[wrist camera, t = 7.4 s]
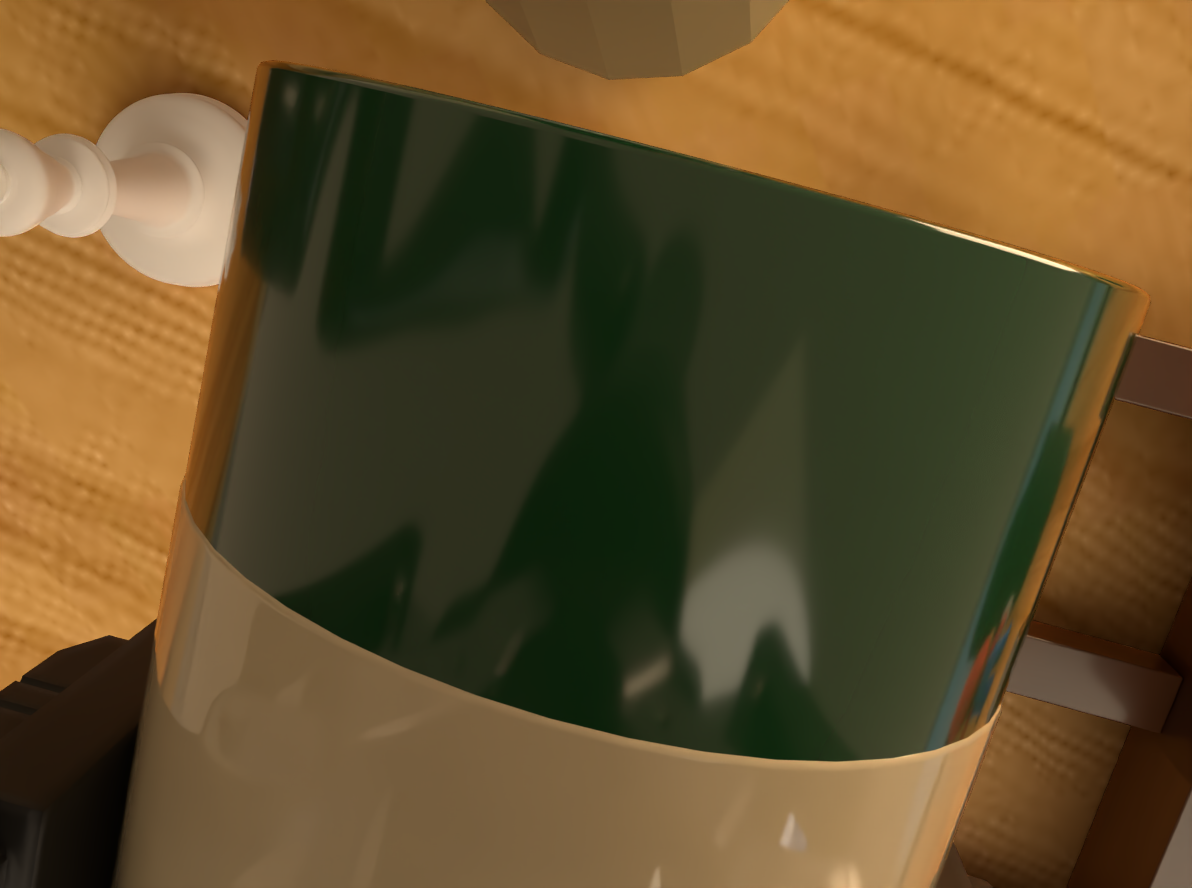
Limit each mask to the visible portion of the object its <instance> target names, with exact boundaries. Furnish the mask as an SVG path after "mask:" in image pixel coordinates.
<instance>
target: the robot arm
mask: <svg viewBox="0 0 1192 888" xmlns="http://www.w3.org/2000/svg"><path fill="white" fill-rule="evenodd" d="M156 622H157V619H156V620H154V621H153V622H152V623H151V624H149V625H148V626H147V627H145V628H144V629H143V630H141V631H140V632H139V633H137V634H136V635H135V636H134V637H132V638H131V639H130V640H125V639H121V638H117V637H114V636H110V635H109V636H105V637H102V638H99V639H95V640H92V641H89V642H86V643H82V644H79V645H76V646H72V647H69V648H66V649H63V650H59V651H57V652H56V653H55V654H53V655H52V656H50V657H49V658H47V659H46V660H45V661H43V662H42V663H40V664H39V665H37V666H36V667H35V668H33V669H32V670H30V671H29V672H27V673H26V674H24V675H23V676H22V679H21V681H20V682H18V681H14V682H13V683H12V684H10V685H9V686H7V687H6V688H4V689H3V690H2V691H0V888H110V885H111V879H112V874H113V868H114V862H115V856H116V851H117V845H118V839H119V834H120V828H121V822H122V816H123V811H124V805H125V799H126V793H127V788H128V782H129V776H130V771H131V765H132V759H133V753H134V748H135V742H136V736H137V731H138V725H139V719H140V713H141V708H142V702H143V696H144V691H145V685H146V679H147V673H148V668H149V662H150V656H151V651H152V645H153V639H154V633H155V628H156ZM936 888H993V887H992V886H991V885H990V883H989V882H988V881H986V880H983V879H979V878H976V877H972V876H969V875H967V873H966V871H965V868H964V866H963V863H962V861H961V859H960V856H959V854H958V852H957V849H956V847H955V845H954V842H953V843H952V846H951V849H950V851H949V854H948V857H947V859H946V862H945V865H944V867H943V870H942V873H941V875H940V878H939V881H938V884H937V886H936Z"/></svg>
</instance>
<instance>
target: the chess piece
mask: <svg viewBox="0 0 1192 888" xmlns="http://www.w3.org/2000/svg"><path fill="white" fill-rule="evenodd" d="M247 122H248V121H247V120H246V119H245V118H244V117H243V116H242V115H241V114H239V113H238V112H237V111H235V110H234V109H232V108H231V107H229V106H228V105H226V104H224V103H222V102H220V101H218V100H215V99H213V98H210V97H207V96H203V95H198V94H192V93H172V94H161V95H155V96H151V97H147V98H144V99H142V100H139V101H137V102H135V103H133V104H131V105H130V106H128V107H126V108H125V109H124V110H122V111H121V112H120V113H119V114H117V115H116V116H115V117H114V118H113V119H112V120H111V122H110V123H109V124H108V125H107V127H106V128H105V129H104V131H103V132H102V134H101V136H100V138H99V139H98V142H97V144H96V145H95V144H93V143H92V142H90V141H89V140H87V139H85V138H83V137H80V136H77V135H73V134H55V135H51V136H48V137H46V138H44V139H42V140H40V141H38V142H36V143H35V144H33V143H32V142H30V141H29V140H27V139H26V138H24V137H22V136H20V135H19V134H16V133H14V132H12V131H9V130H5V129H1V128H0V236H4V237H5V236H14V235H18V234H22V233H24V232H26V231H29V230H30V229H32V228H34V227H35V226H37V225H40V226H42V227H43V228H45V229H47V230H49V231H51V232H53V233H55V234H57V235H60V236H64V237H72V238H76V237H83V236H87V235H90V234H92V233H94V232H96V231H98V230H99V229H100V230H101V232H102V234H103V235H104V237H105V239H106V240H107V242H108V243H109V245H110V246H111V247H112V248H113V250H114V251H115V252H116V253H117V254H118V255H119V256H120V257H121V258H122V259H123V260H124V261H125V262H126V263H128V264H129V265H130V266H131V267H133V268H134V269H136V270H137V271H139V272H140V273H142V274H144V275H146V276H148V277H150V278H153V279H155V280H158V281H161V282H165V283H169V284H174V285H180V286H187V287H206V286H212V285H217V284H219V281H220V275H221V270H222V264H223V258H224V253H225V247H226V241H227V236H228V230H229V224H230V219H231V213H232V207H233V201H234V196H235V190H236V184H237V179H238V173H239V167H240V162H241V156H242V150H243V144H244V139H245V133H246V127H247Z"/></svg>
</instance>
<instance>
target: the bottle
mask: <svg viewBox="0 0 1192 888" xmlns="http://www.w3.org/2000/svg"><path fill="white" fill-rule="evenodd" d="M1150 303H1151V300H1150V295H1149V294H1148V293H1146V292H1145V291H1144V290H1142V289H1141V288H1140V287H1137V286H1135V285H1133V284H1130V283H1128V282H1126V281H1123V280H1120V279H1117V278H1115V277H1112V276H1109V275H1106V274H1103V273H1100V272H1098V271H1095V270H1091V269H1088V268H1085V267H1082V266H1079V265H1076V264H1073V263H1070V262H1067V261H1063V260H1060V259H1057V258H1054V257H1051V256H1047V255H1044V254H1041V253H1037V252H1034V251H1031V250H1028V249H1024V248H1021V247H1018V246H1014V245H1011V244H1008V243H1004V242H1001V241H998V240H994V239H991V238H987V237H984V236H980V235H977V234H974V233H970V232H967V231H963V230H960V229H956V228H953V227H949V226H946V225H943V224H939V223H935V222H932V221H928V220H925V219H921V218H918V217H914V216H911V215H907V214H903V213H900V212H896V211H893V210H889V209H886V208H882V207H879V206H875V205H871V204H868V203H864V202H861V201H857V200H853V199H850V198H846V197H842V196H839V195H835V194H831V193H828V192H824V191H820V190H817V189H813V188H809V187H806V186H802V185H798V184H795V183H791V182H787V181H784V180H780V179H776V178H772V177H768V176H765V175H761V174H757V173H753V172H750V171H746V170H742V169H738V168H735V167H731V166H727V165H723V164H719V163H716V162H712V161H708V160H704V159H701V158H697V157H693V156H689V155H685V154H681V153H677V152H674V151H670V150H666V149H662V148H658V147H654V146H650V145H646V144H643V143H639V142H635V141H631V140H627V139H623V138H619V137H615V136H611V135H607V134H603V133H599V132H595V131H592V130H588V129H584V128H580V127H576V126H572V125H568V124H564V123H560V122H556V121H552V120H548V119H544V118H540V117H536V116H532V115H527V114H523V113H519V112H515V111H511V110H507V109H503V108H499V107H494V106H490V105H486V104H482V103H478V102H474V101H470V100H466V99H461V98H457V97H453V96H448V95H444V94H440V93H436V92H431V91H427V90H423V89H418V88H414V87H410V86H406V85H401V84H397V83H392V82H388V81H383V80H378V79H374V78H369V77H365V76H360V75H356V74H351V73H346V72H341V71H336V70H331V69H326V68H321V67H316V66H311V65H305V64H299V63H293V62H287V61H278V60H270V61H263V62H261V63H260V64H259V66H258V67H257V70H256V76H255V82H254V88H253V93H252V99H251V105H250V110H249V116H248V122H247V127H246V133H245V139H244V144H243V150H242V156H241V162H240V167H239V173H238V179H237V184H236V190H235V196H234V201H233V207H232V213H231V219H230V224H229V230H228V236H227V241H226V247H225V253H224V258H223V264H222V270H221V275H220V281H219V287H218V293H217V298H216V304H215V310H214V315H213V321H212V327H211V332H210V338H209V344H208V349H207V355H206V361H205V367H204V372H203V378H202V384H201V389H200V395H199V401H198V406H197V412H196V418H195V424H194V429H193V435H192V441H191V446H190V452H189V458H188V463H187V469H186V473H185V476H184V478H183V480H182V483H181V485H180V490H179V496H178V502H177V508H176V513H175V519H174V525H173V530H172V536H171V542H170V548H169V553H168V559H167V565H166V570H165V576H164V582H163V588H162V593H161V599H160V605H159V610H158V616H157V622H156V628H155V633H154V639H153V645H152V651H151V656H150V662H149V668H148V673H147V679H146V685H145V691H144V696H143V702H142V708H141V713H140V719H139V725H138V731H137V736H136V742H135V748H134V753H133V759H132V765H131V771H130V776H129V782H128V788H127V793H126V799H125V805H124V811H123V816H122V822H121V828H120V834H119V839H118V845H117V851H116V856H115V862H114V868H113V874H112V879H111V885H110V888H936V886H937V884H938V881H939V878H940V875H941V873H942V870H943V867H944V865H945V862H946V859H947V857H948V854H949V851H950V849H951V846H952V843H953V841H954V838H955V835H956V833H957V830H958V827H959V825H960V822H961V819H962V817H963V814H964V811H965V809H966V806H967V803H968V801H969V798H970V795H971V793H972V790H973V787H974V785H975V782H976V779H977V777H978V774H979V771H980V769H981V766H982V763H983V760H984V758H985V755H986V752H987V750H988V747H989V744H990V742H991V739H992V736H993V734H994V731H995V728H996V726H997V723H998V720H999V718H1000V715H1001V712H1002V705H1003V699H1004V695H1005V692H1006V689H1007V687H1008V684H1009V681H1010V679H1011V676H1012V673H1013V671H1014V668H1015V665H1016V662H1017V660H1018V657H1019V654H1020V652H1021V649H1022V646H1023V644H1024V641H1025V638H1026V636H1027V633H1028V630H1029V628H1030V625H1031V622H1032V620H1033V617H1034V614H1035V612H1036V609H1037V606H1038V604H1039V601H1040V598H1041V595H1042V593H1043V590H1044V587H1045V585H1046V582H1047V579H1048V577H1049V574H1050V571H1051V569H1052V566H1053V563H1054V561H1055V558H1056V555H1057V553H1058V550H1059V547H1060V545H1061V542H1062V539H1063V537H1064V534H1065V531H1066V528H1067V526H1068V523H1069V520H1070V518H1071V515H1072V512H1073V510H1074V507H1075V504H1076V502H1077V499H1078V496H1079V494H1080V491H1081V488H1082V486H1083V483H1084V480H1085V478H1086V475H1087V472H1088V470H1089V467H1090V464H1091V461H1092V459H1093V456H1094V453H1095V451H1096V448H1097V445H1098V443H1099V440H1100V437H1101V435H1102V432H1103V429H1104V427H1105V424H1106V421H1107V419H1108V416H1109V413H1110V411H1111V408H1112V405H1113V403H1114V400H1115V397H1116V394H1117V392H1118V389H1119V386H1120V384H1121V381H1122V378H1123V376H1124V373H1125V370H1126V368H1127V365H1128V362H1129V360H1130V357H1131V354H1132V352H1133V349H1134V346H1135V344H1136V341H1137V338H1138V335H1139V333H1140V330H1141V327H1142V325H1143V322H1144V319H1145V317H1146V314H1147V311H1148V309H1149V306H1150Z"/></svg>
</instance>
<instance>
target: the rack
mask: <svg viewBox="0 0 1192 888" xmlns="http://www.w3.org/2000/svg"><path fill="white" fill-rule="evenodd" d="M1115 400H1118V401H1122V402H1126V403H1130V404H1134V405H1137V406H1141V407H1145V408H1149V409H1153V410H1156V411H1160V412H1164V413H1168V414H1171V415H1175V416H1179V417H1183V418H1187V419H1190V420H1192V348H1188V347H1184V346H1181V345H1177V344H1173V343H1169V342H1165V341H1161V340H1158V339H1154V338H1150V337H1146V336H1142V335H1138V338H1137V341H1136V344H1135V346H1134V349H1133V352H1132V354H1131V357H1130V360H1129V362H1128V365H1127V368H1126V370H1125V373H1124V376H1123V378H1122V381H1121V384H1120V386H1119V389H1118V392H1117V394H1116V397H1115ZM1006 691H1007V692H1011V693H1014V694H1018V695H1022V696H1025V697H1029V698H1033V699H1036V700H1040V701H1044V702H1047V703H1051V704H1054V705H1058V706H1062V707H1065V708H1069V709H1073V710H1076V711H1080V712H1084V713H1087V714H1091V715H1094V716H1098V717H1102V718H1105V719H1109V720H1113V721H1116V722H1120V723H1124V724H1127V725H1131V726H1132V727H1131V729H1130V732H1129V734H1128V737H1127V739H1126V742H1125V744H1124V747H1123V749H1122V751H1121V754H1120V756H1119V759H1118V761H1117V764H1116V766H1115V769H1114V771H1113V774H1112V776H1111V779H1110V781H1109V784H1108V786H1107V789H1106V791H1105V794H1104V796H1103V799H1102V801H1101V804H1100V806H1099V809H1098V811H1097V814H1096V816H1095V818H1094V821H1093V823H1092V826H1091V828H1090V831H1089V833H1088V836H1087V838H1086V841H1085V843H1084V846H1083V848H1082V851H1081V853H1080V856H1079V858H1078V861H1077V863H1076V866H1075V868H1074V871H1073V873H1072V876H1071V878H1070V880H1069V883H1068V885H1067V888H1192V578H1191V580H1190V583H1189V585H1188V588H1187V590H1186V593H1185V595H1184V598H1183V600H1182V603H1181V605H1180V608H1179V610H1178V613H1177V615H1176V618H1175V620H1174V623H1173V625H1172V627H1171V630H1170V632H1169V635H1168V637H1167V640H1166V642H1165V645H1164V647H1163V650H1162V652H1161V655H1158V654H1154V653H1151V652H1147V651H1143V650H1140V649H1136V648H1132V647H1129V646H1125V645H1121V644H1118V643H1114V642H1110V641H1107V640H1103V639H1099V638H1096V637H1092V636H1088V635H1085V634H1081V633H1077V632H1074V631H1070V630H1066V629H1063V628H1059V627H1055V626H1052V625H1048V624H1044V623H1041V622H1037V621H1033V620H1032V622H1031V625H1030V628H1029V630H1028V633H1027V636H1026V638H1025V641H1024V644H1023V646H1022V649H1021V652H1020V654H1019V657H1018V660H1017V662H1016V665H1015V668H1014V671H1013V673H1012V676H1011V679H1010V681H1009V684H1008V687H1007V689H1006Z"/></svg>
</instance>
